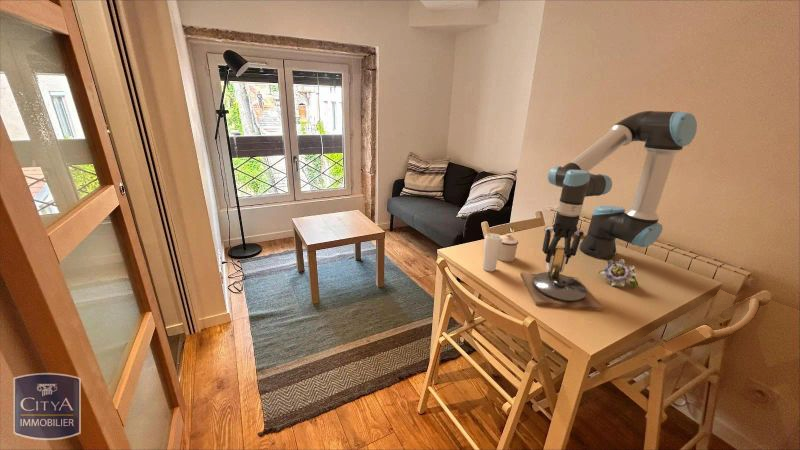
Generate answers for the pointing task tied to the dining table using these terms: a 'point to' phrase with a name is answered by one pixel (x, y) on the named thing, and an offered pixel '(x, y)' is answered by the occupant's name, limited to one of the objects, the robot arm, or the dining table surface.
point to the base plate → (544, 300)
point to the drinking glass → (491, 251)
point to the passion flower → (619, 273)
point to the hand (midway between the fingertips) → (554, 270)
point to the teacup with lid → (508, 248)
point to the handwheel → (559, 281)
